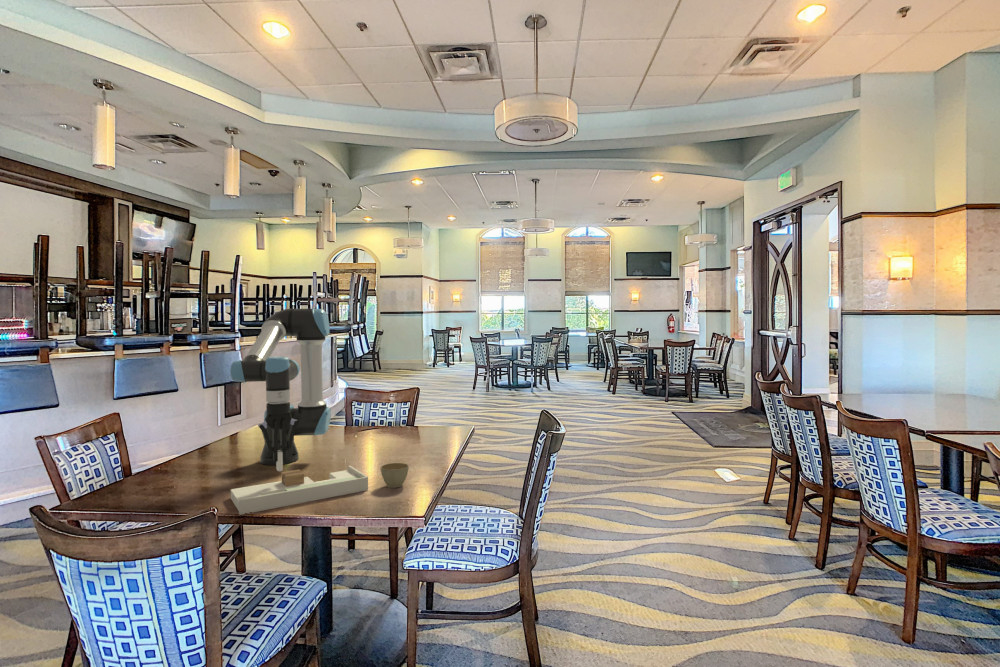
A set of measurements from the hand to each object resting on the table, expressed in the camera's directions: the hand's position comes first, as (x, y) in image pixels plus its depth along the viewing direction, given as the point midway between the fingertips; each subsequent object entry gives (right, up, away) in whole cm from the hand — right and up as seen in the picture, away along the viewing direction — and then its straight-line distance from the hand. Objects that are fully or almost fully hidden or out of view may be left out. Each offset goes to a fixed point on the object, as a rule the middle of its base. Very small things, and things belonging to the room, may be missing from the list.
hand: (279, 470), depth 182 cm
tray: (+7, -8, -1) cm, 11 cm away
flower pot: (+38, -8, +8) cm, 40 cm away
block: (+4, -5, +2) cm, 7 cm away
